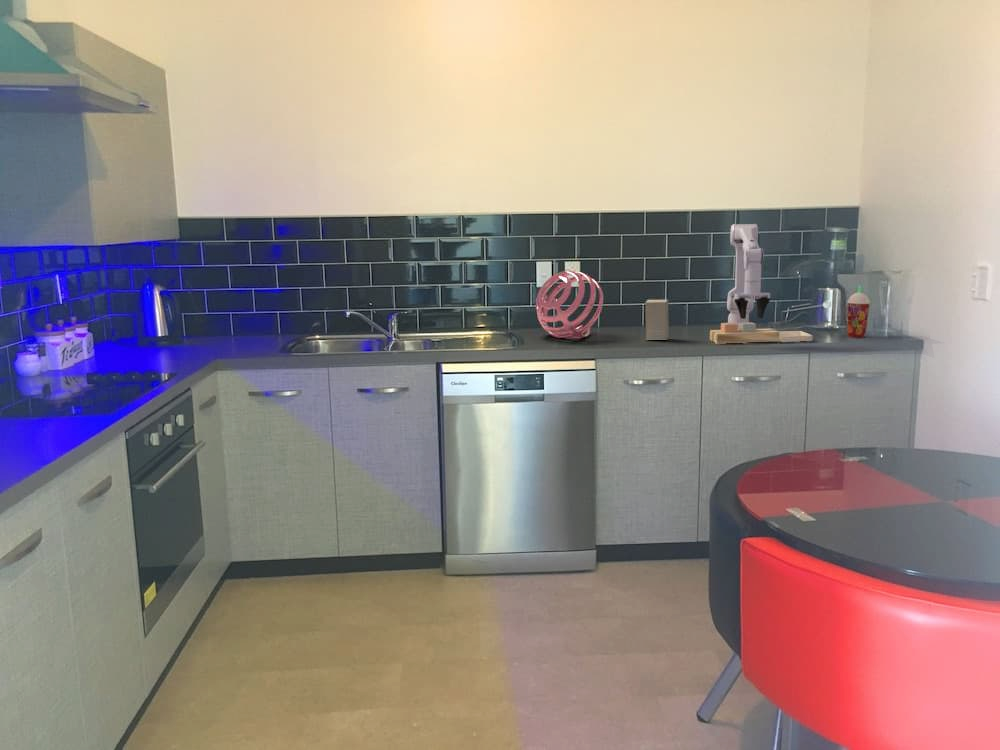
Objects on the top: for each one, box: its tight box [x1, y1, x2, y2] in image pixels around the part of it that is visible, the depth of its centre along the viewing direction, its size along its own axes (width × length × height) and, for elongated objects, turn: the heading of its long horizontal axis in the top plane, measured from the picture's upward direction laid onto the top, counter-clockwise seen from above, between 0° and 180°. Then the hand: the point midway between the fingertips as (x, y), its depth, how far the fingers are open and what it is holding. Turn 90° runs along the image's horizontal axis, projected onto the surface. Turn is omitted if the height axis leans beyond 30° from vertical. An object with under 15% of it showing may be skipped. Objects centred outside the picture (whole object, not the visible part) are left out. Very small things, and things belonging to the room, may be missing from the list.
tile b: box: [738, 321, 757, 332], centre depth 322 cm, size 5×5×3 cm
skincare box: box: [644, 299, 670, 341], centre depth 328 cm, size 8×7×16 cm
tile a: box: [720, 322, 738, 333], centre depth 322 cm, size 5×5×3 cm
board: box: [709, 328, 781, 345], centre depth 323 cm, size 9×24×4 cm, turn 93°
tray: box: [779, 330, 814, 343], centre depth 324 cm, size 11×12×2 cm
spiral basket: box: [535, 270, 604, 340], centre depth 338 cm, size 28×28×27 cm
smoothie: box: [846, 285, 871, 339], centre depth 327 cm, size 8×8×20 cm
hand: (751, 318), depth 312 cm, fingers open, 7 cm apart
